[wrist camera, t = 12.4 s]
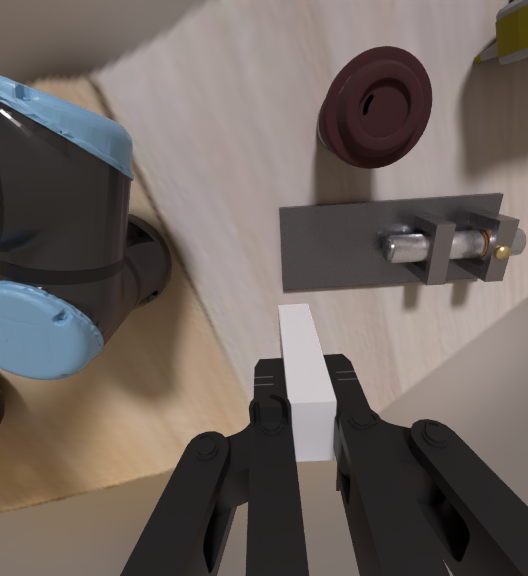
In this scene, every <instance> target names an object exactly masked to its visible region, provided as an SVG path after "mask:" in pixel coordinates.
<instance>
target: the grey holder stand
mask: <svg viewBox="0 0 528 576" xmlns="http://www.w3.org/2000/svg"><path fill="white" fill-rule="evenodd" d="M502 198H503V194H501V193H491V194H476V195H461V196H445V197H430V198H415V199H400V200H385V201H370V202H355V203H340V204H325V205H310V206H295V207H280V232H281V256H282V280H283V290H289V289H305V288H322V287H338V286H354V285H371V284H387V283H404V282H420V281H422V282H423V283H425V284H426V285H441V284H444V283H445V280H453V279H470V278H479V279H481V280H483V281H484V282H490V281H502V280H503V277H504V273H505V269H506V266H507V262H508V259H509V256H510V254H511V248H512V245H513V241H514V238H515V234H516V231H517V227H518V224H519V219H515V218H512V217H508V216H505V215H501V214H499V210H500V206H501V202H502ZM479 229H489V230H492V234H491V238H490V242H489V246H488V250H487V254H486V257H485V258H465V259H449V258H450V253H451V248H452V243H453V238H454V233H455V231H469V230H479ZM422 233H430V234H431V240H430V246H429V252H428V258H427V261H416V262H400V263H389V262H388V261H386V260H385V259H384V257H383V253H382V246H383V242H384V240H385V239H387V237H388V236H391V235H407V234H422Z"/></svg>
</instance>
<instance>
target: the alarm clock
mask: <svg viewBox="0 0 528 576" xmlns="http://www.w3.org/2000/svg"><path fill="white" fill-rule="evenodd" d="M496 18H497V22H496V39H497V42H495V43H494V44H493V45H491V46H490V47H489V48H487V49H486V50H485V51H483V52H482V53H481V54H479V55H478V56H477V57H475V58H474V62H475V63H476V64H477V63H480V62H482V61H485V60H488V59H491V58H494V57H497V56H498V58H499V63H500V64H501V65H506V64H510V63H513V62H516V61H519V60H522V59H525V58H528V0H514V1H513V2H512V3H510V4H508V5H506V6H505V7H504V8H502V9H501V10H500V11H499V12H498V14H497V16H496Z"/></svg>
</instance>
